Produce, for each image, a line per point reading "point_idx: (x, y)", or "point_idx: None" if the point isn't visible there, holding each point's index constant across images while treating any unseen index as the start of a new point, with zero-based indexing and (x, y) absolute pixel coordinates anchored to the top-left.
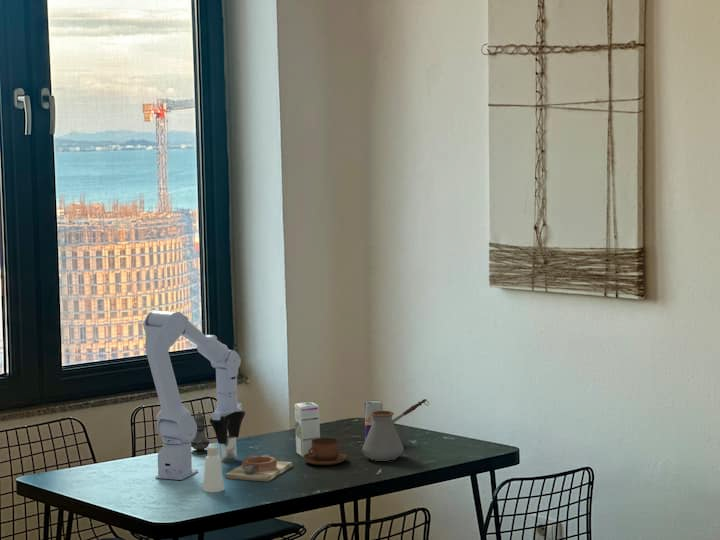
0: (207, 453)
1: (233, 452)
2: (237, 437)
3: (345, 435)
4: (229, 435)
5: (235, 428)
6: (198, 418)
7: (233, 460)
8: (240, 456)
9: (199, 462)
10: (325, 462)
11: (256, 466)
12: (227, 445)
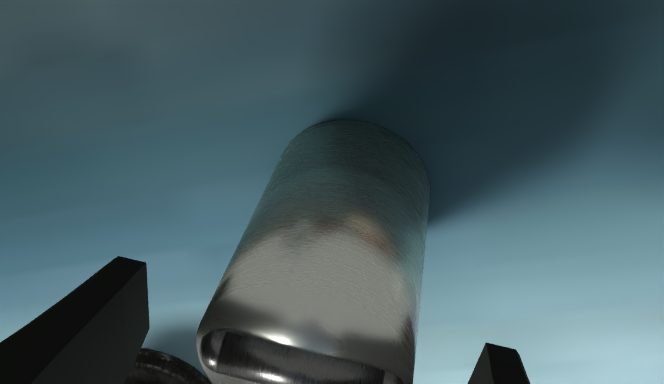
0: (170, 356)
1: (387, 189)
2: (135, 261)
3: None
4: (267, 374)
5: (76, 380)
6: None
7: (399, 143)
8: (186, 112)
9: (446, 374)
10: None
11: None
12: (416, 303)
